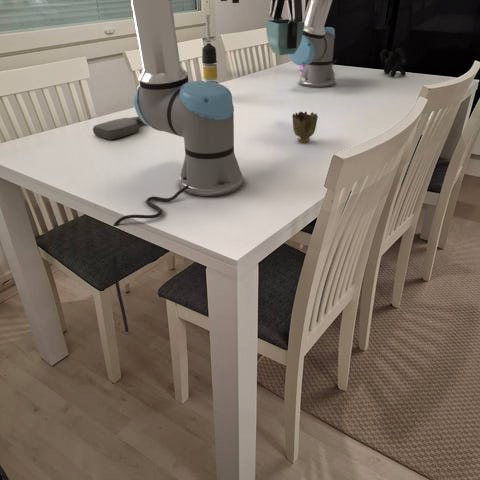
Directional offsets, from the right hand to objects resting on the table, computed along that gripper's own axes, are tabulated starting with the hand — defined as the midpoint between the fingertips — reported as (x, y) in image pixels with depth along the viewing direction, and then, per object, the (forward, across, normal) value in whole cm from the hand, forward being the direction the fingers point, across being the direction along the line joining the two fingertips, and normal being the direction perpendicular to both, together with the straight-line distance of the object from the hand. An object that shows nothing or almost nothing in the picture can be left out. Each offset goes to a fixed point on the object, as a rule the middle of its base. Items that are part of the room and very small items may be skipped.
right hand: (229, 2), depth 189 cm
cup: (+32, -86, +11) cm, 93 cm away
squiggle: (+32, -25, -72) cm, 83 cm away
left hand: (+7, -70, +10) cm, 72 cm away
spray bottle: (+32, -51, +56) cm, 82 cm away
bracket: (+32, +6, -46) cm, 56 cm away
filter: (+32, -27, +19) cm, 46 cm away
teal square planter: (+10, -71, +10) cm, 72 cm away
